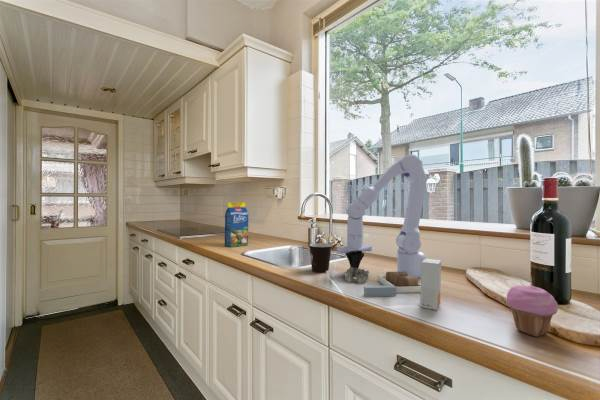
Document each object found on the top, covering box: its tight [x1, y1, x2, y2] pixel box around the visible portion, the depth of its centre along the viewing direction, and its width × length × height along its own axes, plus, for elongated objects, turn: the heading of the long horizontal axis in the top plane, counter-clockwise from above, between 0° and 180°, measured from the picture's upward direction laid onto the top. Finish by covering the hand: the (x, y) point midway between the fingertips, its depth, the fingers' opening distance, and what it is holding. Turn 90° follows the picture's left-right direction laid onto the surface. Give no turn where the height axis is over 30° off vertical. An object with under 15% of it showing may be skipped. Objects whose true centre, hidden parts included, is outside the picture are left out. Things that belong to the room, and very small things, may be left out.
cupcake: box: [506, 285, 559, 337], centre depth 65 cm, size 9×9×10 cm
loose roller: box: [394, 276, 419, 287], centre depth 92 cm, size 6×4×4 cm
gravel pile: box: [343, 266, 370, 284], centre depth 104 cm, size 11×8×4 cm
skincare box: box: [419, 258, 442, 311], centre depth 80 cm, size 6×4×12 cm
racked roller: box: [385, 271, 408, 284], centre depth 98 cm, size 6×4×4 cm
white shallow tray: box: [377, 275, 421, 294], centre depth 96 cm, size 10×13×2 cm
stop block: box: [363, 285, 397, 298], centre depth 87 cm, size 9×2×3 cm, turn 97°
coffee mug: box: [309, 243, 333, 274], centre depth 118 cm, size 12×9×10 cm
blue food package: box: [224, 202, 249, 248], centre depth 174 cm, size 6×12×25 cm, turn 137°
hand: (354, 271), depth 111 cm, fingers closed
